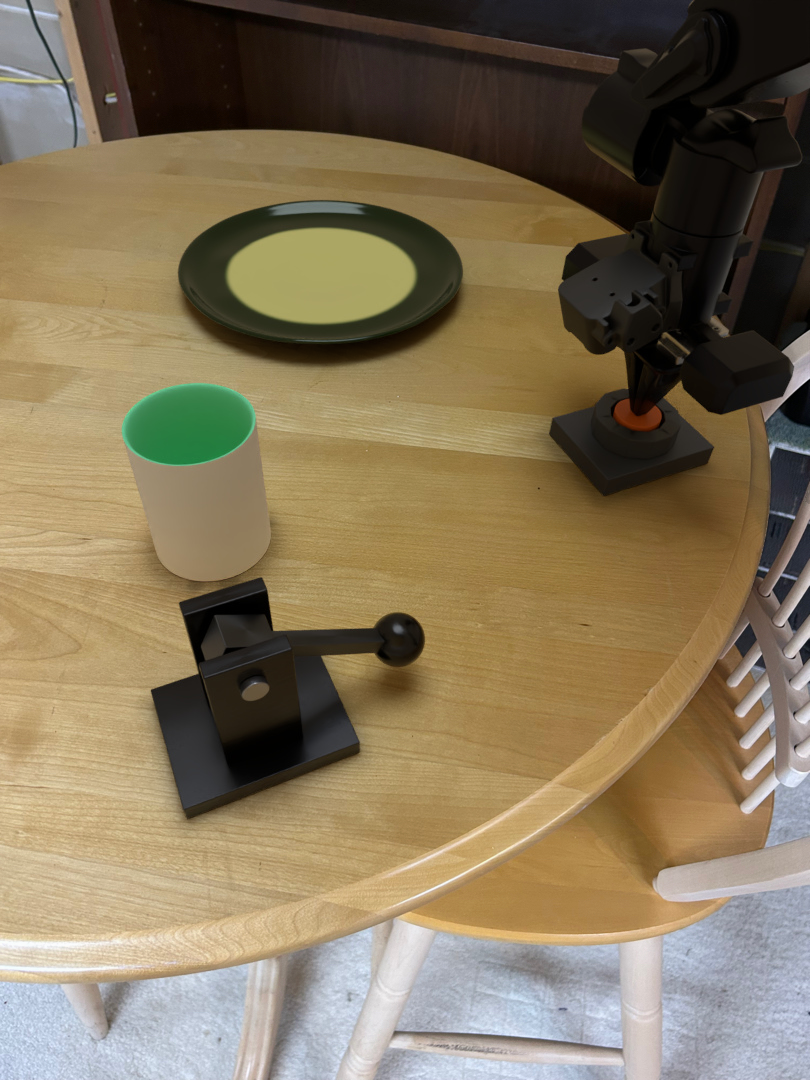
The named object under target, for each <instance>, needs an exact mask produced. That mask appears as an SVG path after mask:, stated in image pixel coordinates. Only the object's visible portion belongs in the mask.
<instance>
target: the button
mask: <svg viewBox="0 0 810 1080" xmlns="http://www.w3.org/2000/svg"><path fill="white" fill-rule="evenodd" d="M613 418H614V420H615V421H616V422H617V423H618V424H619V425H622V426H624V427H626V428H629V429H631V430H633V431H644V432H649V431H652V430H656V429H658V427H659V424H660V421H661V418H662V415H661V412H660V410H659V409H658V408H657V407H656V406H654V407H653V408H652V409H651V410H650V411H649V412H648V413H647V414H644V415H641V416H636V415H635V414H634V413H633V412H632V411H631V410H630V401H629V399H625V400H622V401H620V402H619V403H618V404H617V405H616V407H615V410H614V413H613Z"/></svg>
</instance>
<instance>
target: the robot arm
mask: <svg viewBox="0 0 810 1080" xmlns="http://www.w3.org/2000/svg"><path fill="white" fill-rule="evenodd" d="M686 11H687V14H688V15H687V16H686V18H685V21H684V22H683V23H682V24H681V26H680V27H679V28H678V29H677V31H676V32H675V33H674V35H672V37H671V38H670V40H668V42H666V44H665V46H663V47H662V49H661V50H660V52H659V53H658V54H657V53H656V52H655V51H653V50H651V49H649V48H637V49H629V50H622V51H621V52H620V54H619V59H618V63H617V67H616V70H615V71H613V72H612V73H611V74H610V75H608V76H607V77H605V79H604V80H603V81H602V82H601V83H600V84H599V85H598V86H597V87H596V89H595V91H594V92H593V94H592V96H591V97H590V99H589V100H588V101H589V102H588V104H587V105H586V106H585V107H584V109H583V112H582V117H581V135H582V139H583V141H584V144H585V146H586V147H587V148H588V149H589V150H590V151H591V152H592V153H593V154H595V155H596V156H598V157H599V158H601V159H603V160H604V161H605V162H607V163H608V164H609V165H611V166H612V167H614V168H615V169H617V170H618V171H619V172H621V173H622V174H624V175H625V176H627V177H628V178H629V179H631V180H633V181H634V182H636V184H639V185H642V186H643V187H649V188H651V187H658V190H657V194H656V198H655V202H654V205H653V209H652V213H651V217H650V219H648V220H643V221H638V222H635V224H634V228H633V229H632V230H631V231H629V233H621V234H617V235H611V236H606V237H602V238H596V239H590V240H586V241H581V242H578V243H577V244H576V245H575V246H574V247H573V248H572V249H571V250H570V251H569V253H567V255H565V257H564V264H563V269H562V274H561V280H562V282H561V283H559V285H558V289H557V292H558V293H557V294H558V298H559V304H560V310H561V317H562V323H563V328H564V329H565V330H566V331H567V332H568V333H571V334H572V335H573V336H574V337H575V338H576V339H577V340H578V341H579V342H580V343H581V344H582V345H583V346H584V348H585V350H586V351H588V352H589V353H590V354H593V355H597V356H601V355H606V354H608V353H611V352H612V351H615V349H616V348H619V349H620V350H621V351H622V352H623V355H624V360H625V369H626V378H627V381H626V382H627V389H628V391H629V401H630V410H631V411H632V412H633V413H634V414H635V415H636V416H641V415H644V414H647V413H648V412H649V411H650V410H651V409H652V408H653V407H654V406H655V405H656V404H657V403H658V402H659V401H660V400H661V399H662V398H664V397H666V396H667V394H669V393H670V392H671V391H672V390H673V389H674V388H675V387H676V386H677V385H678V384H679V383H680V382H681V385H682V386H681V387H682V389H683V391H684V392H686V393H687V395H689V396H690V397H691V398H692V399H694V401H696V402H697V403H698V404H699V405H700V406H701V407H702V408H703V409H704V410H706V411H707V412H708V413H711V414H716V415H720V416H723V415H726V414H729V413H732V412H736V411H740V410H743V409H746V408H749V407H753V406H757V405H760V404H763V403H767V402H770V401H774V400H777V399H779V398H783V397H784V395H785V393H786V392H787V389H788V387H789V385H790V383H791V380H792V378H793V377H794V376H793V375H794V370H795V365H794V364H793V361H792V359H791V358H790V357H789V356H788V355H786V354H785V353H784V352H783V351H781V350H780V349H778V348H777V347H776V346H775V345H773V344H772V343H771V342H769V341H768V340H767V339H765V338H764V337H763V336H761V335H760V334H759V333H757V331H755V330H754V329H752V330H748V331H745V332H741V333H736V334H733V335H729V332H730V329H729V328H728V327H726V326H725V325H723V324H722V323H721V322H720V321H718V320H717V319H716V318H715V317H716V316H718V315H723V314H727V313H729V310H730V307H731V306H732V305H731V304H732V301H733V298H732V297H730V296H729V295H728V294H726V293H725V292H724V291H723V289H724V286H725V283H726V280H727V277H728V275H729V272H730V268H731V267H732V264H733V261H734V260H737V259H742V258H746V257H749V255H750V253H751V250H752V248H753V244H754V242H755V241H754V240H753V239H751V238H750V237H749V236H747V235H746V234H744V233H743V232H744V229H745V226H746V224H747V220H748V217H749V215H750V212H751V209H752V206H753V204H754V201H755V198H756V195H757V193H758V189H759V186H760V183H761V181H762V178H763V175H764V173H765V172H771V171H776V170H781V169H787V168H793V167H797V166H799V165H800V164H801V163H802V160H803V153H802V151H801V148H800V145H799V142H798V141H797V139H795V137H794V135H793V134H792V133H791V130H790V126H789V120H788V119H789V118H788V116H786V115H777V116H770V117H764V118H754V117H752V116H750V115H749V114H746V113H745V112H743V111H741V110H739V109H736V108H725V107H731V106H736V105H744V104H751V103H758V102H764V101H771V100H779V99H785V98H791V97H794V96H796V95H799V94H801V93H803V92H805V91H806V90H809V89H810V0H692V1H691V2H690V3H689V4H688V7H687V9H686ZM716 108H725V109H719V110H717V111H713V110H711V109H716Z"/></svg>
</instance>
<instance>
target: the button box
mask: <svg viewBox="0 0 810 1080" xmlns="http://www.w3.org/2000/svg"><path fill="white" fill-rule="evenodd" d="M625 399H629V391H628V388H620V389H616V390H612V391H609V392H606V393H604V394H603V395H602V396H601V397H600V398H599V399H598V400H597V401H596V402H595V404H594V406H590V407H586V408H583V409H579V410H576V411H572V412H568V413H564V414H561V415H558V416H553V417H552V418H551V423H550V428H549V435H550V437H551V438H552V439H553V440H554V441H555V442H556V444H557V445H558V446H559V447H560V449H562V450H563V451H564V452H565V454H566V455H567V456H568V457H569V458H570V460H572V462H573V463H574V464H575V466H577V468H578V469H579V470H580V471H581V472H582V473H583V474H584V475H585V476H586V478H587V479H588V480H589V482H591V484H592V485H593V486H594V487H595V488H596V490H598V491H599V493H600V494H601V495H602V497H603V496H607V495H611V494H614V493H618V492H621V491H624V490H627V489H630V488H634V487H636V486H640V485H644V484H646V483H649V482H653V481H656V480H658V479H662V478H665V477H668V476H671V475H674V474H677V473H681V472H684V471H688V470H691V469H693V468H697V467H699V466H703V465H706V464H709V461H710V460H711V457H712V454H713V452H714V449H715V446H714V445H713V444H712V443H711V442H710V441H709V440H707V438H705V436H703V434H701V433H700V432H699V431H698V429H696V428H695V427H694V426H693V425H691V423H690V422H688V420H686V418H684V417H683V416H682V415H681V414H680V413H679V410H678V409H677V408H676V407H674V405H672V403H670V401H668V400H667V399H666V398H664V397H663V398H662V399H661V400H660V401H659V402H658V403H657V404H656V405H655V406H656V407H657V408H658V409H659V410H660V412H661V415H662V418H661V421H660V424H659V427H658V429H656V430H652V431H649V432H644V431H633V430H631V429H629V428H626V427H624V426H622V425H619V424H618V423H617V422H616V421H615V420H614V418H613V413H614V410H615V407H616V405H617V404H618V403H619V402H620V401H622V400H625Z"/></svg>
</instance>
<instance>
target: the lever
mask: <svg viewBox="0 0 810 1080" xmlns="http://www.w3.org/2000/svg"><path fill="white" fill-rule="evenodd" d="M285 634H286V635H287V636H288V639H289V641H290V644H291V646H292V648H293V656H294V657H307V656H321V657H324V656H325V657H327V656H345V655H363V654H374V656H375V657H376V658H377V660H379V662H381V663H382V664H384V665H386V666H389V667H392V668H404V667H407V666H410V665H411V664H413V663H415V662H416V661H417V660H418V659H419V657H421V655H422V653H423V651H424V649H425V645H426V635H425V630H424V629H423V626H422V625H421V623H420V622H419V620H418V619H416V617H414V616H413V615H411V614H410V613H406V612H401V611H393V612H390V613H386V614H385V615H383V616H381V617H380V618H379V619H378V620H377V621H376V623H375V624H374V625H373V627H362V628H360V627H357V628H326V629H291V630H274V631H271V629H270V626H269V624H268V621H267V619H266V617H265V615H264V614H241V615H214V617H213V619H212V621H211V624H210V626H209V628H208V631H207V633H206V635H205V638H204V640H203V642H202V645H201V648H202V651H203V654H204V657H205V660H209V659H212V658H215V657H218V656H221V655H224V654H227V653H230V652H233V651H236V650H240V649H243V648H246V647H249V646H252V645H255V644H258V643H261V642H264V641H267V640H270V639H273V638H276V637H279V636H282V635H285Z"/></svg>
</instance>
